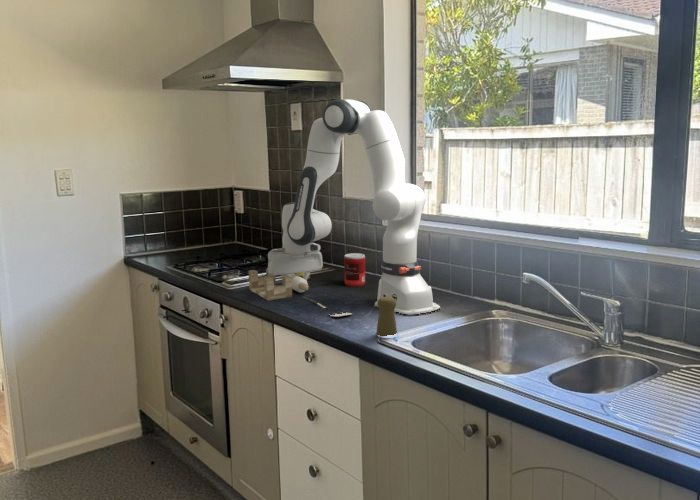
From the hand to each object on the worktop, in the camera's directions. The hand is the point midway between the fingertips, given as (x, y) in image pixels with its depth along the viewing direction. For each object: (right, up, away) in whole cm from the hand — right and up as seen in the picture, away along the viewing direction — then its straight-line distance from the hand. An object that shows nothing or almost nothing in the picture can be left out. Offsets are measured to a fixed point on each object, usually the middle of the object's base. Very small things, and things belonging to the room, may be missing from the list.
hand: (295, 284), depth 241 cm
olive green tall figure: (+30, -12, -52) cm, 61 cm away
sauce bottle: (+1, +1, +17) cm, 17 cm away
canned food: (+21, -1, +7) cm, 22 cm away
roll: (0, -2, 0) cm, 2 cm away
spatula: (+11, -7, -22) cm, 26 cm away
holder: (-9, -3, -4) cm, 10 cm away
